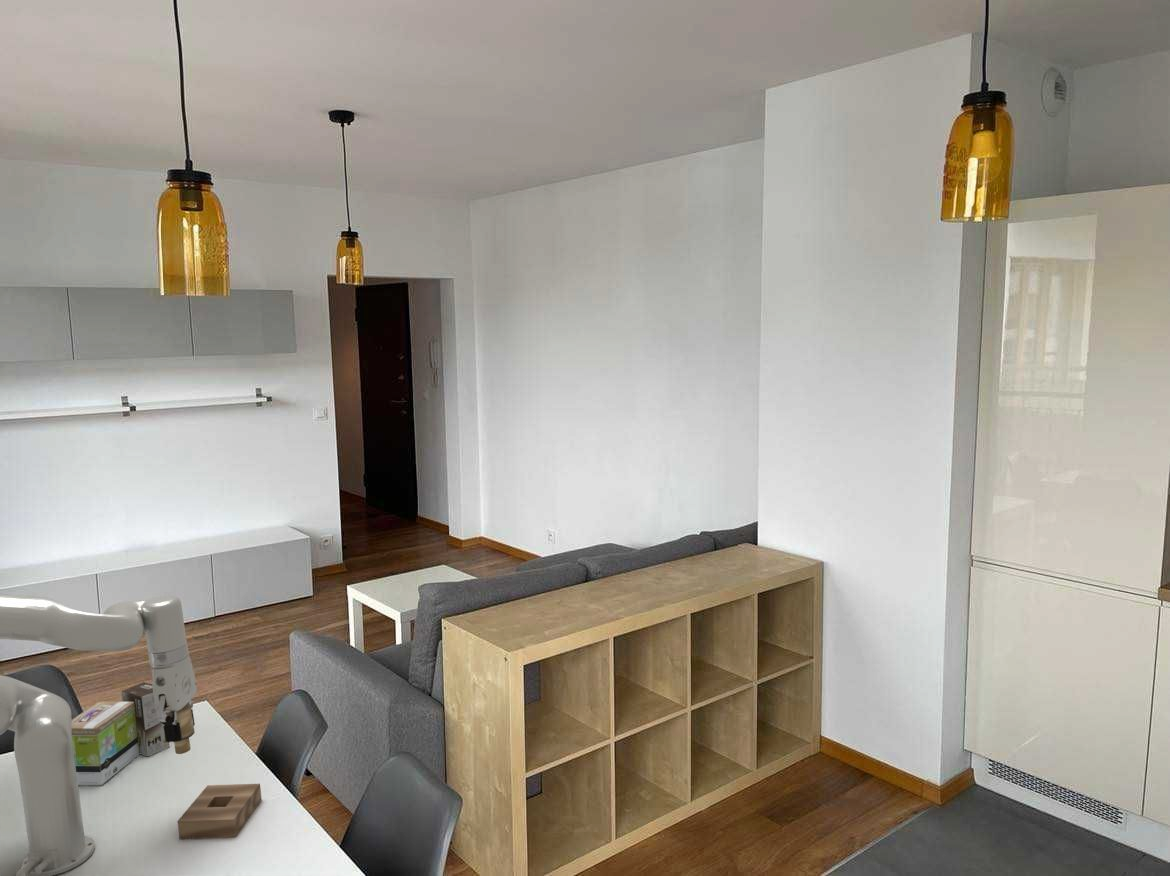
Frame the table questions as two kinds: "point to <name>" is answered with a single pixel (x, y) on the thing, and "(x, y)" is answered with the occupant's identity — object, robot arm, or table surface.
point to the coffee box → (146, 719)
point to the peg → (184, 729)
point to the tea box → (104, 741)
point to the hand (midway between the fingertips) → (180, 733)
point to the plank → (219, 811)
